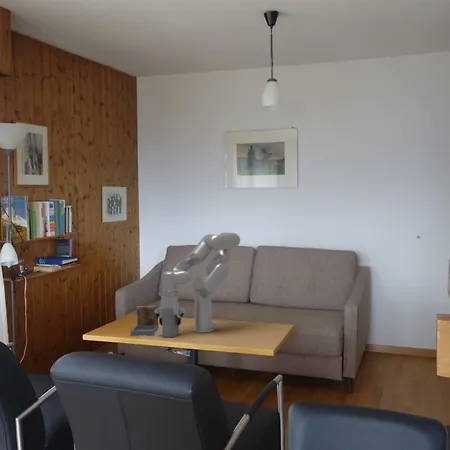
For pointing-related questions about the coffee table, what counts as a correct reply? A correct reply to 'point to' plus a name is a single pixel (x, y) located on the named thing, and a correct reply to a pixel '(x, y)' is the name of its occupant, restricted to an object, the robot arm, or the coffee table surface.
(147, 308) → the dark block on base
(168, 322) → the skincare box
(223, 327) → the coffee table surface
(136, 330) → the blue-grey shallow tray
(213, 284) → the robot arm
